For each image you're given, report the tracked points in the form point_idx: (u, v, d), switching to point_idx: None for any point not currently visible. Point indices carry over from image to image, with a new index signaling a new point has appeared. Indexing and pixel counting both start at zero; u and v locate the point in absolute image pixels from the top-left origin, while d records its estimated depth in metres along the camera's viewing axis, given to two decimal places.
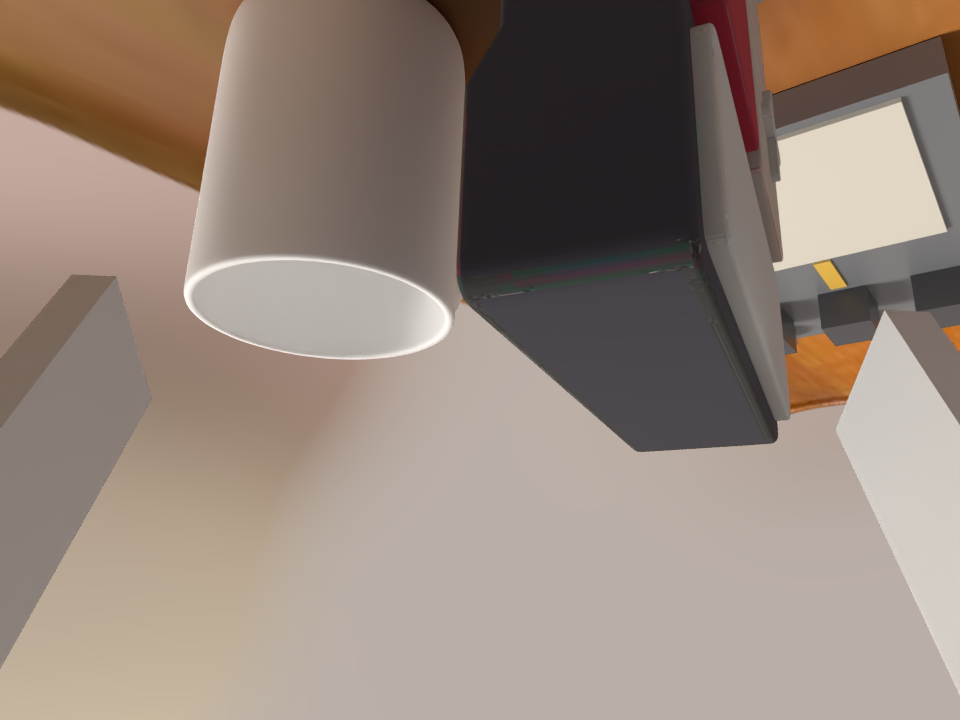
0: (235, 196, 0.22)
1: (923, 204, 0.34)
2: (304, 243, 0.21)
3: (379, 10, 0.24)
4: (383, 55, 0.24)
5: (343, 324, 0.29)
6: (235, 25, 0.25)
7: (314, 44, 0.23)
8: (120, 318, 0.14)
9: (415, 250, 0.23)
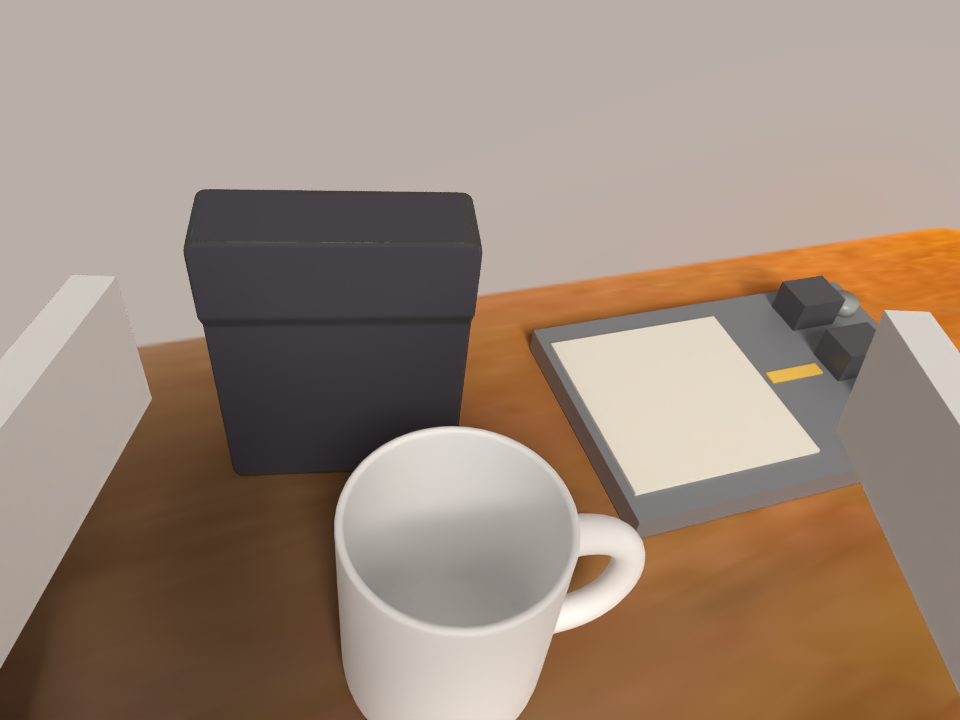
0: None
1: (672, 328, 0.48)
2: None
3: None
4: None
5: None
6: (351, 690, 0.31)
7: None
8: (120, 318, 0.14)
9: None
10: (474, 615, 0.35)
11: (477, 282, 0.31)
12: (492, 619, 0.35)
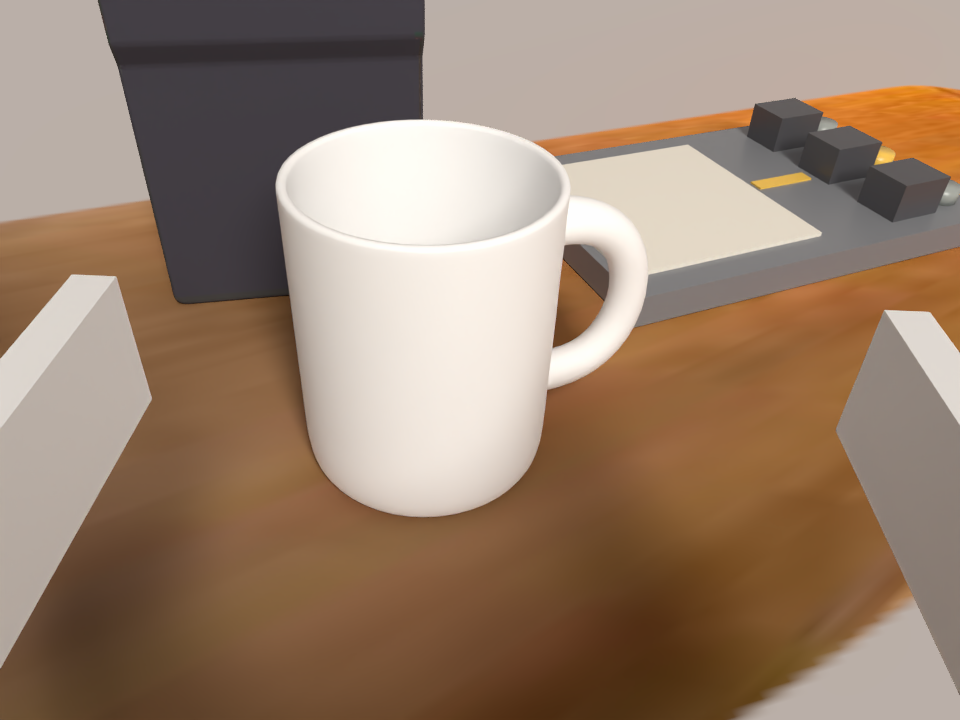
0: (284, 253, 0.23)
1: (646, 155, 0.45)
2: None
3: None
4: None
5: None
6: (321, 455, 0.26)
7: None
8: (119, 318, 0.14)
9: None
10: None
11: None
12: None
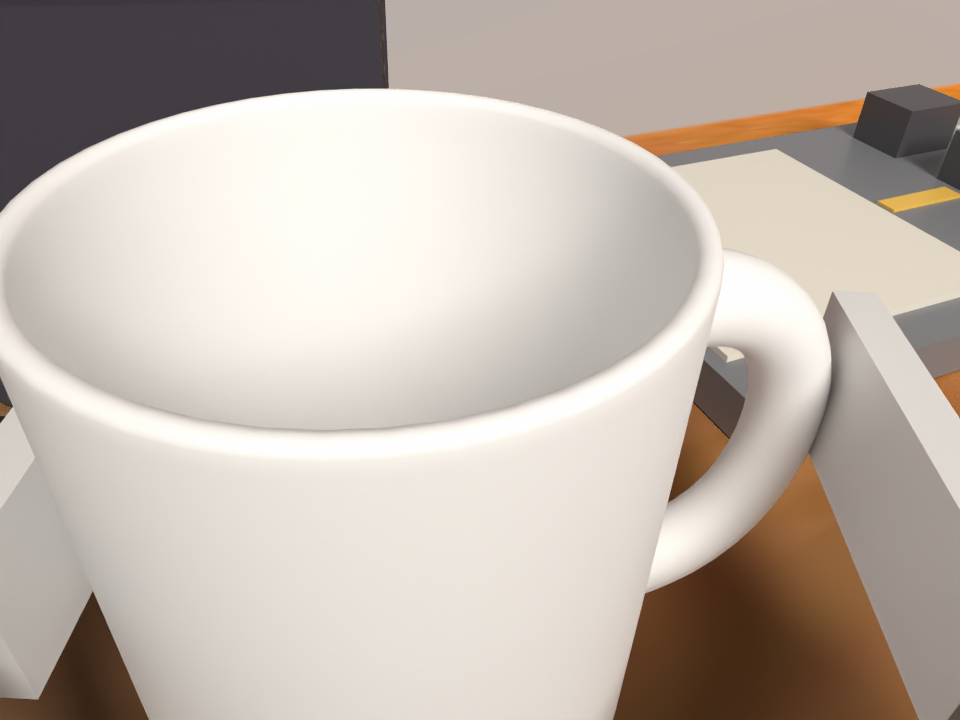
0: None
1: (721, 164, 0.32)
2: None
3: None
4: None
5: None
6: None
7: None
8: None
9: None
10: None
11: None
12: None
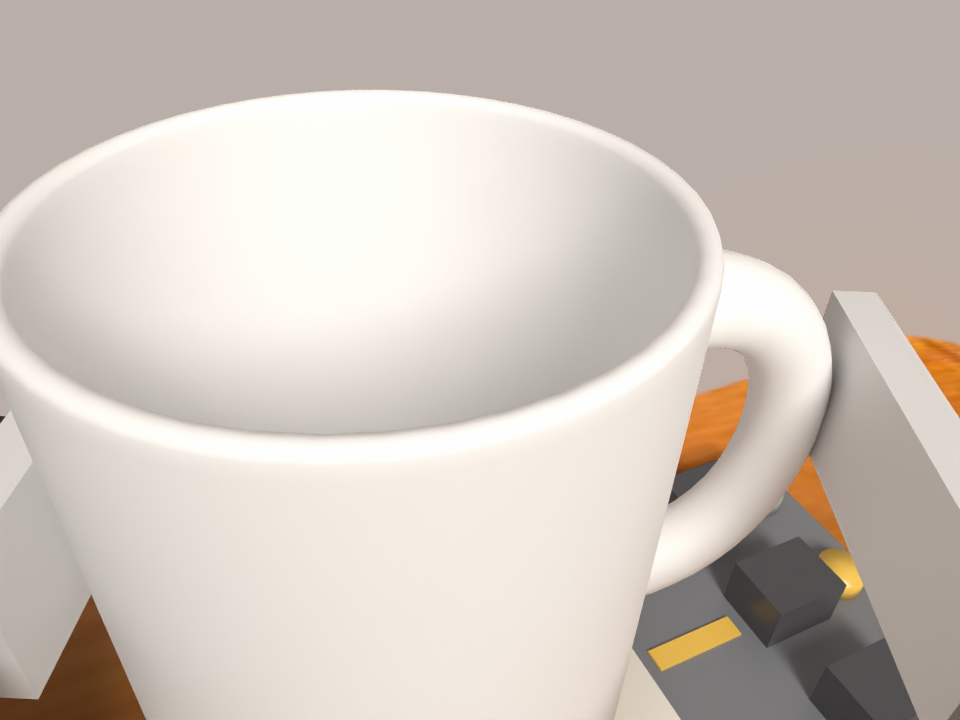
0: None
1: None
2: None
3: None
4: None
5: None
6: None
7: None
8: None
9: None
10: None
11: None
12: None
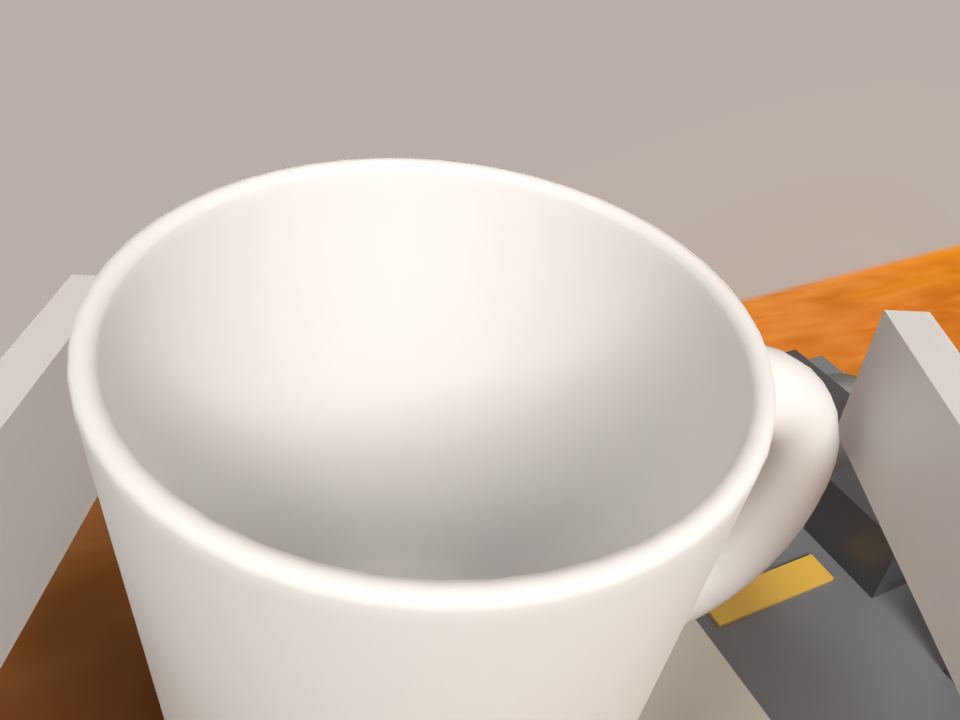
0: None
1: None
2: None
3: None
4: None
5: (720, 457, 0.10)
6: None
7: None
8: None
9: None
10: None
11: None
12: None
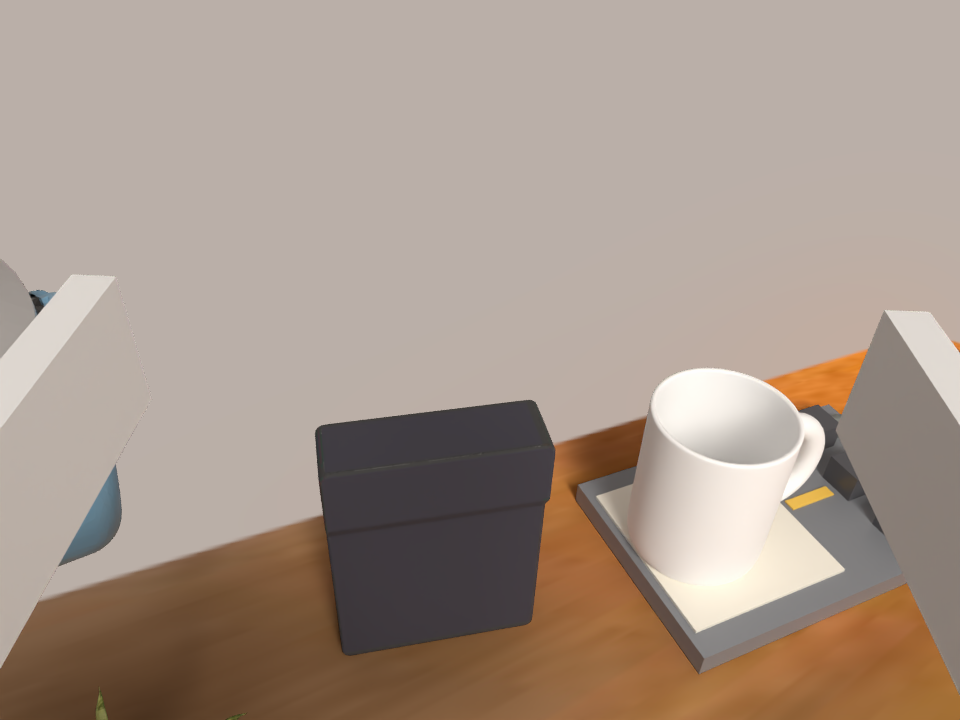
0: (652, 453, 0.44)
1: None
2: None
3: None
4: None
5: (792, 442, 0.44)
6: (649, 552, 0.47)
7: (632, 489, 0.48)
8: (119, 318, 0.14)
9: None
10: None
11: (552, 474, 0.38)
12: None
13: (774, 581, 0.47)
